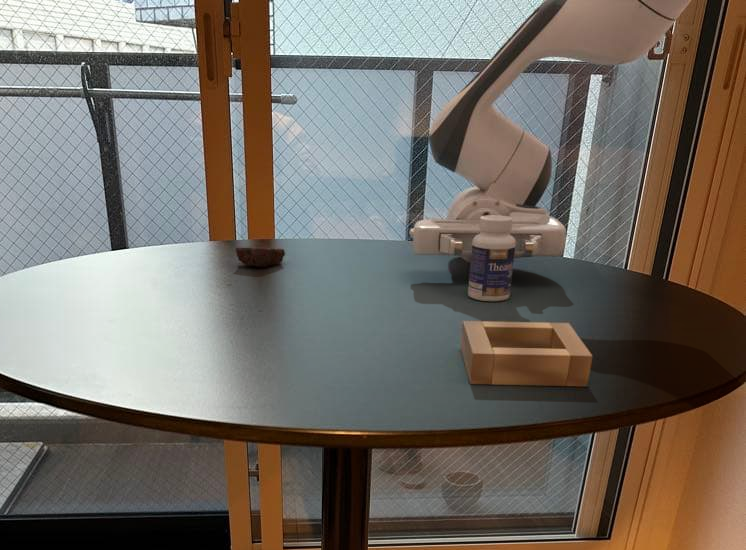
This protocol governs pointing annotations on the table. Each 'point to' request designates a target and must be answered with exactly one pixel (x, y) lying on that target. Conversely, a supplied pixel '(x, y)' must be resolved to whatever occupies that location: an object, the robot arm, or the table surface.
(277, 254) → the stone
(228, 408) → the table surface
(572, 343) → the socket block
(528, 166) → the robot arm
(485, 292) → the pill bottle
